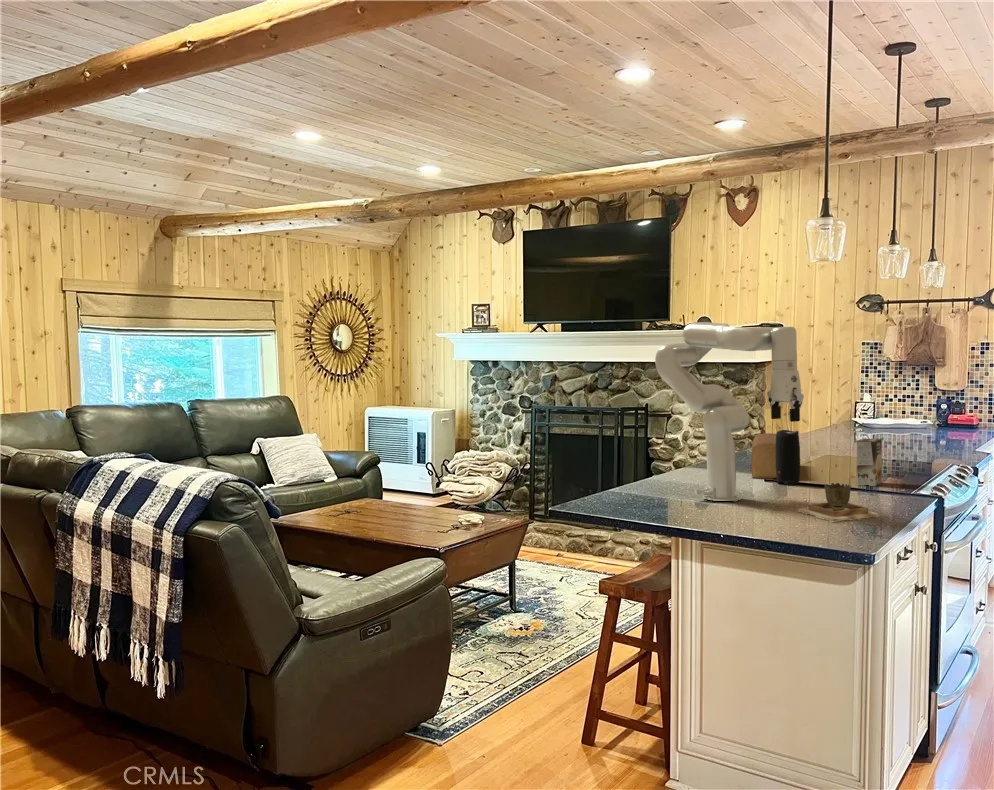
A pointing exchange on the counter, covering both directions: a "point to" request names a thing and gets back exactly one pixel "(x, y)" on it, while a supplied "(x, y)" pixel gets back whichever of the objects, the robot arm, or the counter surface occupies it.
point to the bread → (764, 456)
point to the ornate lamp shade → (837, 495)
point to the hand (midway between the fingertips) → (785, 420)
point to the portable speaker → (787, 457)
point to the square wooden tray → (838, 512)
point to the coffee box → (869, 462)
